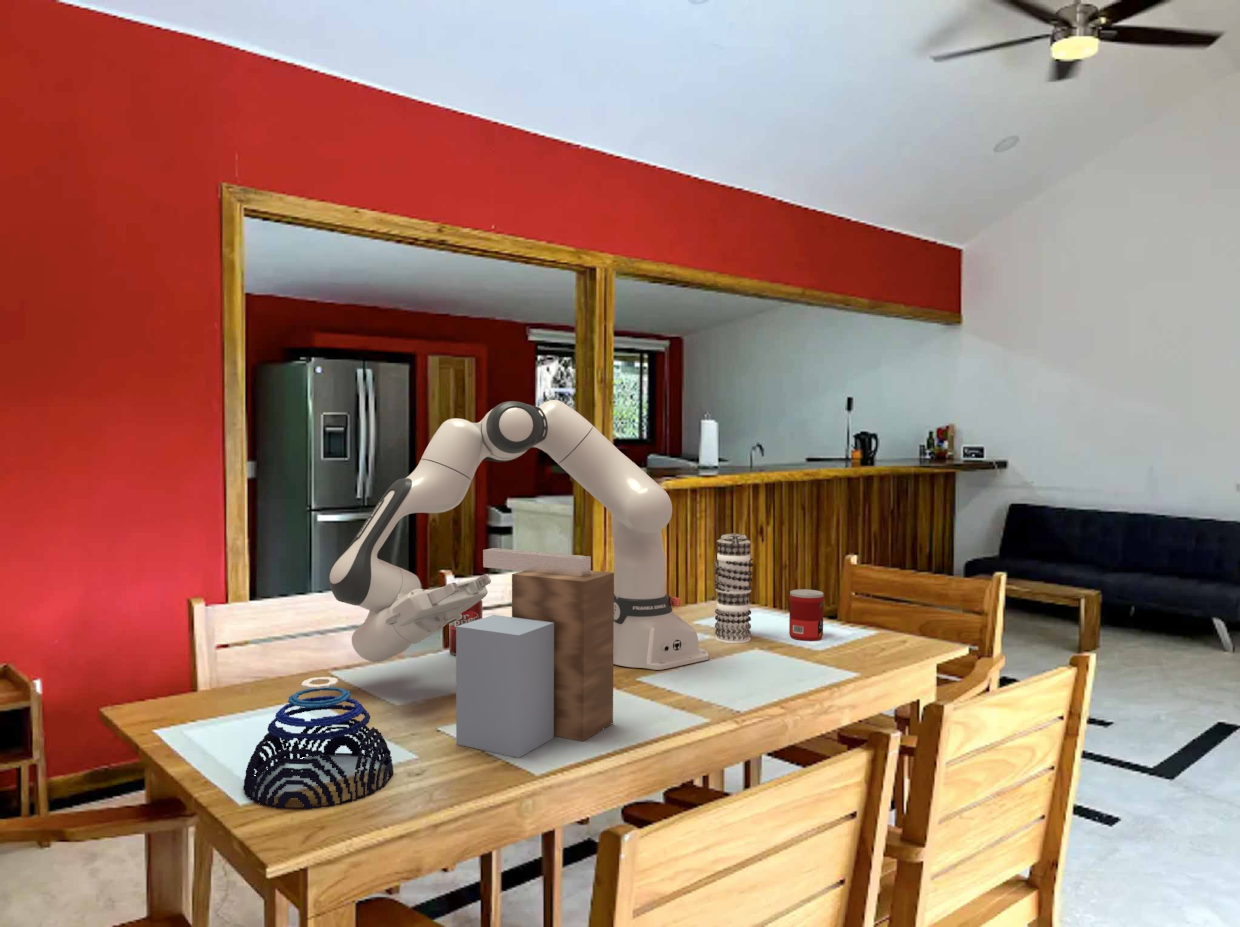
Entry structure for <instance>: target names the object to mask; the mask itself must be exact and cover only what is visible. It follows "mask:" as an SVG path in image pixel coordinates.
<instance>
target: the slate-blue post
mask: <svg viewBox="0 0 1240 927" xmlns="http://www.w3.org/2000/svg"><path fill="white" fill-rule="evenodd" d="M455 660H456V663H455V664H456V667H455V668H456V669H455V671H456V672H455V673H456V674H455V675H456V678H455V680H456V682H455V683H456V685H455V687H456V693H455V694H456V697H455V699H456V702H455V703H456V705H455V706H456V708H455V709H456V710H455V711H456V712H455V714H456V716H455V717H456V724H455V725H456V727H455V728H456V733H455V734H456V741H455V743H456V744H455V745H458V746H463V747H467V748H471V749H472V748H473V749H475V750H481V751H486V752H490V753H494V754H499V755H505V756H508V757H512V758H517V759H520V758H521V757H523V756H525V755H526V754H528V753H530V752H531V751H533V750H535V749H537V748H540V747H541V746H542V745H544V744H546V743H548V742H549V741H552V740H553V739H555V738H554V737H555V736H554V623H553V622H545V621H538V620H530V619H522V618H515V617H512V616H505V615H499V614H498V615H497V614H491V615H488V616H485V617H482V619H478V620H475V621H472V622H469V623H466V624H462V625H459V626H456V655H455Z"/></svg>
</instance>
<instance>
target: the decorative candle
mask: <svg viewBox="0 0 1240 927" xmlns="http://www.w3.org/2000/svg"><path fill="white" fill-rule="evenodd" d="M716 542H718V543H717V544H718V545H717V558H716V560H717V561H716V562H714V568H715V569H714V574H715V575H716V577H715V579H714V581H715V584H714V588H715V591H716V592H717V600H716V608H715V610H714V613H715V614H716V615H715V617H714V620H715V621H716V622H715V623H714V627H715V630H714V634H715V636H714V637H715V638H714V640H716V641H717V642H720V643H725V644H737V645H738V644H745V643H749V642H751V637H750V636H751V635H752V633H751V632H752V631H751V628H752V624H751V623H750V622H751V621H752V618H751V616H750V615H751V614H752V610H750V609H751V605H750V593H751V592H752V589H753V588H752V586H750V583H751V582H753V578H752V577H751V576H752V575H753V574H754V573H753V571H751V570H750V568H752V567H754V563H752V562H751V561H753V560H754V559H753V558H752V557H751V552H750V551H751V550H750V548H751V547H750V546H751V543H752V541H751V540H749V539H748V536H746V534H742V533H724V534H721V536H720V538H719V539H718V540H716Z"/></svg>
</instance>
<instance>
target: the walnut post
mask: <svg viewBox="0 0 1240 927" xmlns="http://www.w3.org/2000/svg"><path fill="white" fill-rule="evenodd" d="M614 586H615V572H610V571H601V570H591V574H590V575H587V576H584V577H576V576H566V575H556V574H546V573H537V572H527V571H517V572H514V573H512V574H511V617H515V618H522V619H530V620H538V621H545V622H553V623H554V737H560V738H564V739H570V740H573V741H578V742H586V741H587V740H588V739H590V738H592V737H593V736H595V735H596V733H597V734H598V733H599V732H598V731H600V732H601V730H602V729H603V728H605V727H606V728H608V727H609V725H610V724H611V723H613V724H614V664H613V645H614ZM611 725H612V724H611ZM611 725H610V726H611ZM607 726H608V727H607ZM606 728H605V729H606ZM603 730H604V729H603ZM603 730H602V731H603ZM594 734H595V735H594ZM591 736H592V737H591ZM589 737H590V738H589ZM586 739H587V740H586Z"/></svg>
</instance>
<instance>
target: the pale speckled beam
mask: <svg viewBox="0 0 1240 927" xmlns="http://www.w3.org/2000/svg"><path fill="white" fill-rule="evenodd" d="M482 558H483V559H482V561H483V562H482V563H483V564H482V565H483V566H482V567H483V568H488V569H501V570H508V571H517V572H522V571H527V572H537V573H546V574H556V575H566V576H576V577H584V576H587V575H590V574H591V569H592V565H591V564H592V560H591V558H592V556H590V555H589V556H585V555H577V554H576V555H575V554H566V553H565V554H564V553H555V552H553V553H552V552H543V551H531V550H521V549H519V550H518V549H509V548H508V549H507V548H497V547H492V548H487V549H483V550H482Z"/></svg>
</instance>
